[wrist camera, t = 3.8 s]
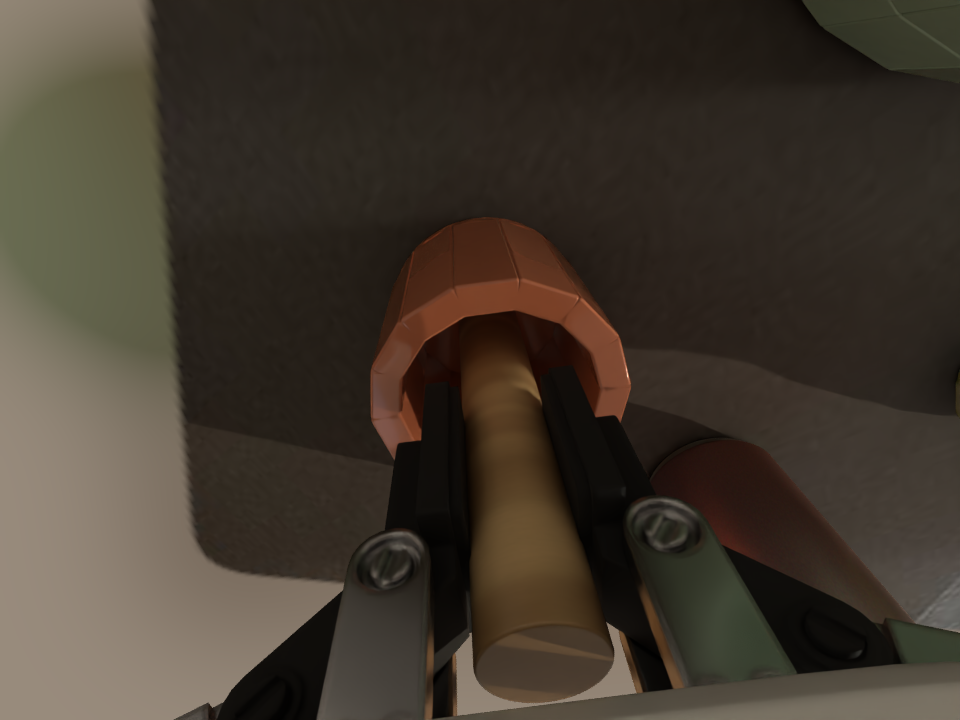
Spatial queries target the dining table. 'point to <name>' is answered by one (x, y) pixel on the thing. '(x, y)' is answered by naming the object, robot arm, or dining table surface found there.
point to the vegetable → (958, 395)
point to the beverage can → (771, 520)
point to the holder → (483, 290)
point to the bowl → (898, 32)
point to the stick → (522, 532)
